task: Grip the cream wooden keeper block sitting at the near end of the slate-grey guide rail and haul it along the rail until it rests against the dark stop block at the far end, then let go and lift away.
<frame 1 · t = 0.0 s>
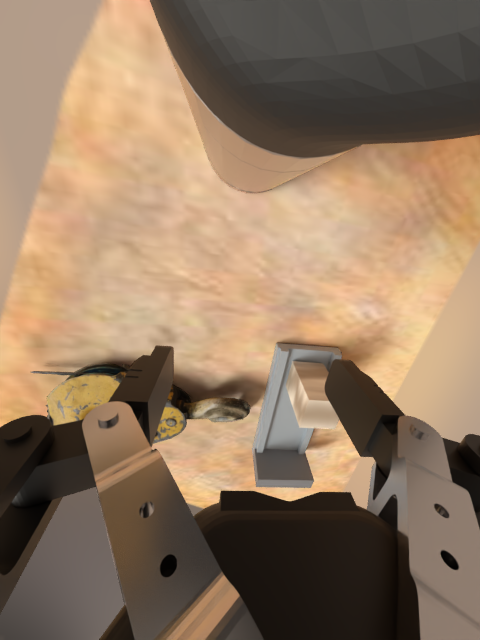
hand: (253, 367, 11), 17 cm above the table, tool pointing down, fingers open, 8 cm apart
keeper: (312, 392, 29), point 5 cm above the table, slide at 0.0 cm
pulley block: (153, 397, 35), on the table
rail: (289, 404, 36), on the table
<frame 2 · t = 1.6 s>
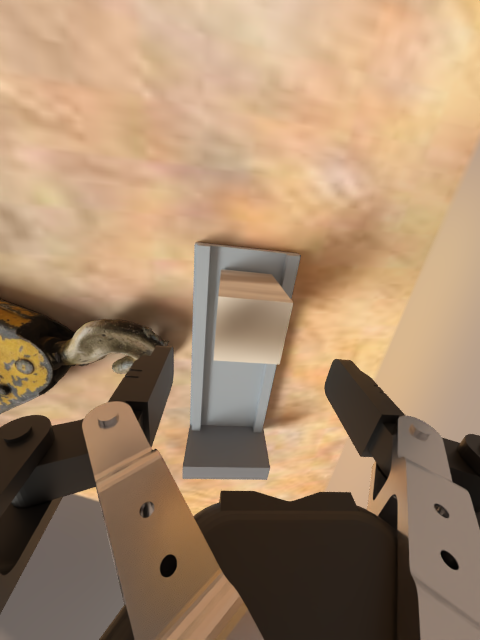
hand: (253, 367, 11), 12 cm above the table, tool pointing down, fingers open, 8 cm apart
keeper: (246, 311, 17), point 5 cm above the table, slide at 0.0 cm
pulley block: (26, 342, 23), on the table
rail: (234, 355, 25), on the table
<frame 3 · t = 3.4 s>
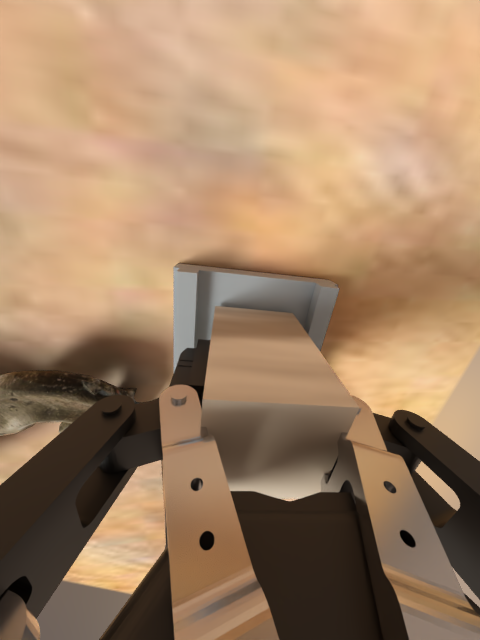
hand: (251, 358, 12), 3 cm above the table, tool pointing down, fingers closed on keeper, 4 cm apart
keeper: (256, 382, 10), point 5 cm above the table, slide at 0.0 cm, touching gripper
rail: (234, 415, 18), on the table
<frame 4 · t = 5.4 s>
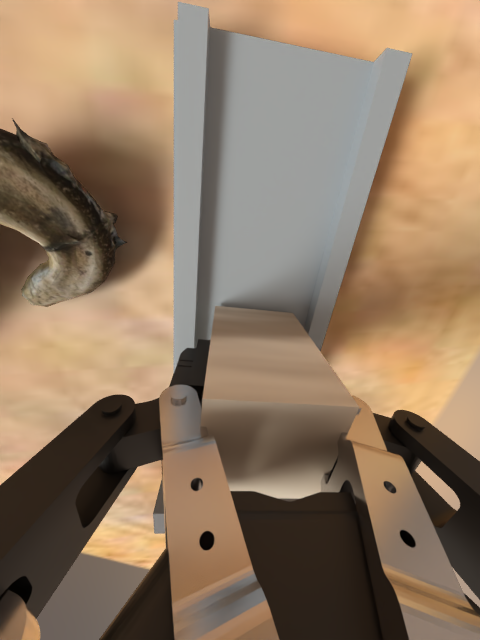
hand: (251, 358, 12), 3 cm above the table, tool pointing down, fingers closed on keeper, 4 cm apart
keeper: (256, 382, 10), point 5 cm above the table, slide at 8.9 cm, touching gripper
rail: (250, 312, 14), on the table
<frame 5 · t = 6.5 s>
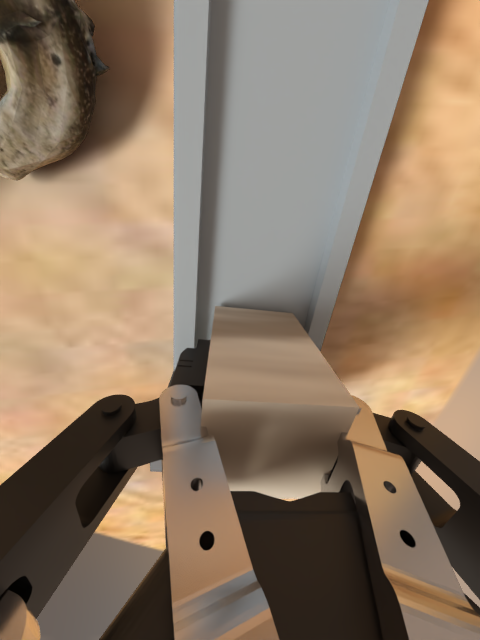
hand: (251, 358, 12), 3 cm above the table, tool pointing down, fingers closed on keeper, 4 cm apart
keeper: (256, 382, 10), point 5 cm above the table, slide at 14.4 cm, touching gripper
rail: (264, 217, 12), on the table
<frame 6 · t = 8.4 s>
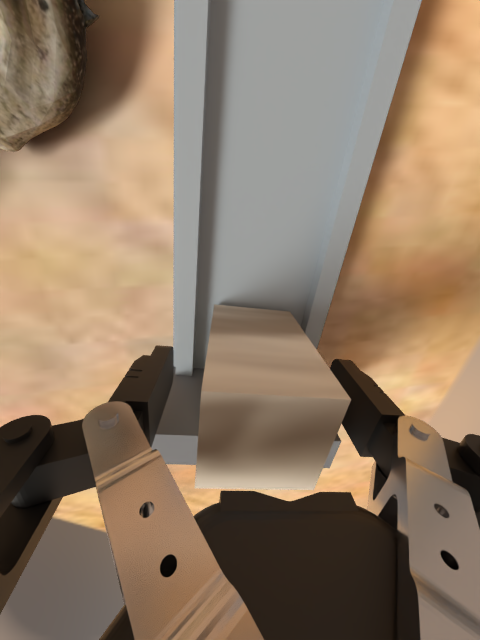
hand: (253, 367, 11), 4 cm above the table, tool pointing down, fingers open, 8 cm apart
keeper: (253, 378, 10), point 5 cm above the table, slide at 14.5 cm
rail: (262, 215, 12), on the table
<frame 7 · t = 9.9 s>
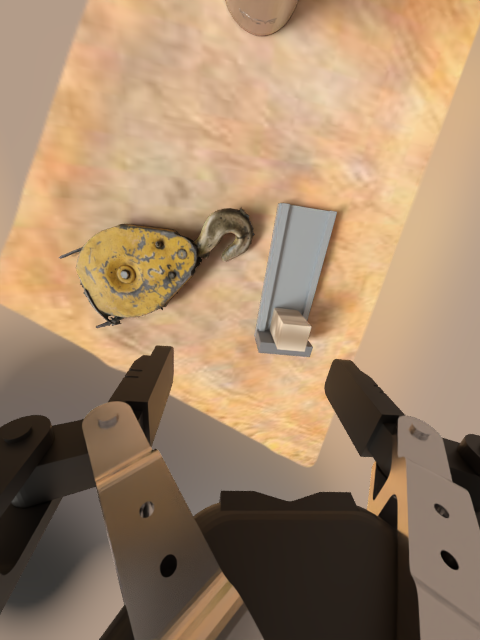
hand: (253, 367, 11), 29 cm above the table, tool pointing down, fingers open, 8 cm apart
keeper: (288, 328, 37), point 5 cm above the table, slide at 14.5 cm
pulley block: (167, 260, 37), on the table
rail: (289, 280, 39), on the table
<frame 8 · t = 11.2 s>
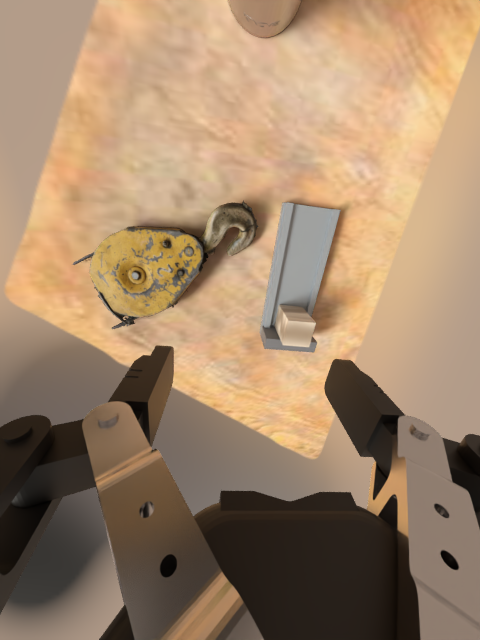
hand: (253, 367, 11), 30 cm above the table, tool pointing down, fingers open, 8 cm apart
keeper: (293, 324, 39), point 5 cm above the table, slide at 14.5 cm
pulley block: (175, 259, 38), on the table
rail: (294, 277, 40), on the table
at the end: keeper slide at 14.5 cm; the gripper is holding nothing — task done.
